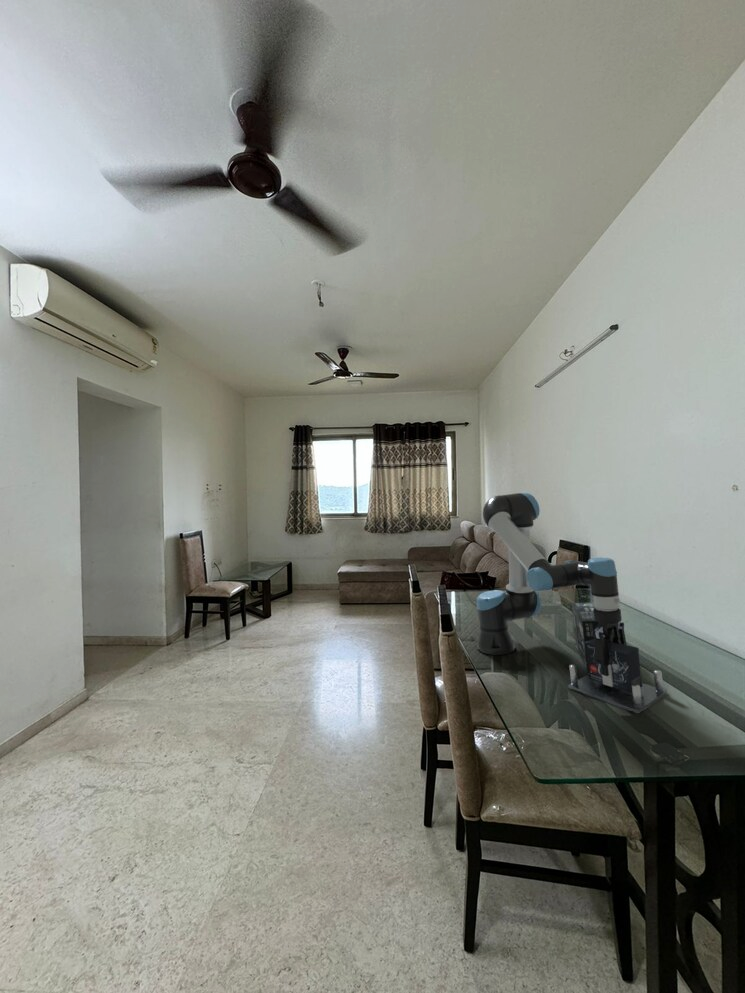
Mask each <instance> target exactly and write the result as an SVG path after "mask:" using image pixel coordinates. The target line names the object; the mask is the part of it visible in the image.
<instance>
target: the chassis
mask: <svg viewBox="0 0 745 993" xmlns="http://www.w3.org/2000/svg"><path fill="white" fill-rule="evenodd" d="M568 668H569V676H570V684H568V689H569V690H571V689H574V690H578V691H581V692H584V693H585V694H587V695H586V696H588V695H589V696H588V697H590V696H591V698H593V697H595V698H594V699H596V698H598V699H597V700H599V699H600V700H599V701H602V702H604V703H608V704H611V705H613V706H615V707H618V708H620V709H624V710H626V711H629V712H631V711H634V712H637V713H640V712H641V711H643V710H644V711H646V710H647V709H648V708H650V707H651V706H652V705H654V704H655V703H656V702H658V701H660V699H662V698H664V697H665V696H667V695H668V690H667V689H664V680H663V673H662V671H661V670H659V669H657V670H653V677H654V686H653V685H650V684H646V683H643V682H642V687H641V688H640V685H638V684H632V693H628V692H625V691H623V690H620V689H617V688H614V687H611V686H607V685H604V684H603V683H600V682H597V681H594V680H591V679H589V673H588V674H586V675H585V676H583V677H581V678H578V672H577V665H575V664H569V666H568ZM574 690H573V691H574ZM585 694H584V695H585ZM644 711H643V712H644ZM634 712H633V713H634ZM637 713H636V714H637ZM641 713H642V712H641ZM641 713H640V714H641Z"/></svg>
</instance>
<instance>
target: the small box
mask: <svg viewBox="0 0 745 993" xmlns="http://www.w3.org/2000/svg"><path fill="white" fill-rule="evenodd" d="M586 651H587V660H588V669H589V673H588V674H589V679H591V680H594V681H597V682H600V683H603V678H602V670H601V664H597V663H596V660H595V641H594V639H593V640H591V641H589V642H586ZM639 651H640V650H639V647H635V646H631V645H628V644H627V645H625V644H621V643H620V644H618V643H614V642H612V643H611V645H610V649H609V656H610V658H609V665H611V669H612V678H613V687H614V688H617V689H620V690H623V691H625V692H628V693H632V684H638V685H640V688H641V687H642V683H643V680H642V671H641V664H640V663H641V662H640V653H639Z"/></svg>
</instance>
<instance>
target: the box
mask: <svg viewBox="0 0 745 993" xmlns="http://www.w3.org/2000/svg"><path fill="white" fill-rule="evenodd" d="M593 609H594V607H593V606H592V601H591V602H589V601H588V602H587V601H586V602H571V610H572V612H571V613H572V620H573V629H574V631H573V632H574V640H575V649H576V650H577V653H578V654H579V657H580V659H581V661H582V663H583V665H584V668H585V669H586V672H587V673H588V674H589V669H588V660H587V651H586V642H589V641H591V640H593V639H594V635H593V631H598V630H599V629H598V627H599V623H598V622H597V621H596V620H595V619H594V613H593ZM604 639H606V638H604ZM607 640H609V639H607Z"/></svg>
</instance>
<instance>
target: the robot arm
mask: <svg viewBox="0 0 745 993" xmlns="http://www.w3.org/2000/svg"><path fill="white" fill-rule="evenodd" d="M539 515H540V505H539V503H538V500H537V499H536V498H535V496H534V495H532V494H531V493H528V492H517V493H516V492H515V493H511V494H501V495H499V494H498V495H494V496H493V497H491V498H490V499H488V500H487V501H486V503H485V504H484V505H483V510H482V517H483V518H482V519H483V521H484V523H485V525H486V526H487V528H488V529H489V531H491V532H495V534H496V535H497V536H498V537H499V538H500V540H501V541H502V542H503V543H504V544H505V546H506V547H507V549H508V579H509V580H508V581H509V583H507V584H506V585H505V592H504V591H502V590H497V589H495V590H487V591H484V592H481V593H480V594H479V595H478V596H477V598H476V608H477V617H478V627H479V632H478V637H477V643H476V646H477V647H478V648H477V647H476V648H477V650H478V649H479V650H480V651H481V652H480V651H479V650H478V651H479V652H480V653H483V654H486V655H491V656H501V655H502V656H503V655H506V654H507V655H508V654H511V653H513V652H514V651H515V649H516V646H515V642H514V640H513V639H512V636H511V633H510V631H509V625H508V624H509V623H508V622H512V621H517V620H522V619H530V618H532V617H535V616H536V615H538V614H539V613H540V611H541V608H542V602H541V601H542V600H541V597H540V594H539V593H538V592H542V591H549V590H555V589H558V588H559V589H560V588H566V587H572V586H580V585H582V586H587V587H590V594H591V602H592V606H593V607H594V609H593V613H594V619H595V620H596V621H597V622H598V623H599V627H598V629H599V630H598V631H593V635H594V641H595V660H596V663H597V664H601V670H602V678H603V684H604V685H607V686H611V687H613V678H612V669H611V665H609V658H610V656H609V649H610V645H611V643H612V642H614V643H618V644H620V643H621V644H625V645H628V643H627V639H626V634H625V623H624V622H621V621H622V611H621V604H620V602H621V599H620V597H619V586H618V577H617V576H618V575H617V574H618V572H617V569H616V564H615V561H614V559H613V558H610V557H594V558H589V559H588V560H587V562H584V561H579V560H575V559H574V560H572V559H571V560H569V559H567V560H565V561H563V563H559V564H551V562H549V561H548V560H547V559H546V558H545V557H544V555H543V554H542V553H541V552H540V551H539V550H538V549H537V548H536V546H535V545H534V544H533V543H532V542H531V538H530V537H531V536H530V535H531V534H530V530H531V529H532V528H533V527H534V521H536V519H538V518H539ZM604 638H606V639H604ZM607 639H609V640H607Z"/></svg>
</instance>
